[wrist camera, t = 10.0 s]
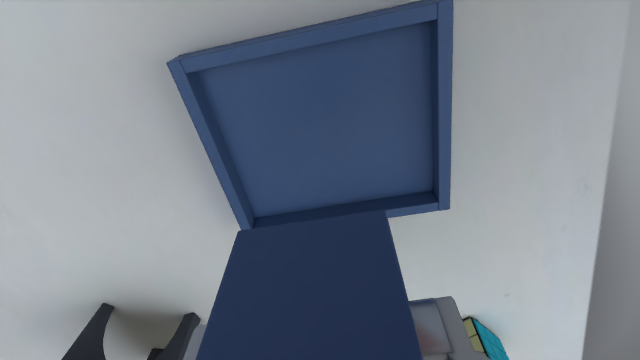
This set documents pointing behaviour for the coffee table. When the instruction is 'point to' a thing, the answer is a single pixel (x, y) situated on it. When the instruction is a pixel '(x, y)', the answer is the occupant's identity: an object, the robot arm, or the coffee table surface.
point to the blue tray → (329, 116)
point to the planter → (88, 347)
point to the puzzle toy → (484, 340)
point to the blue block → (313, 294)
